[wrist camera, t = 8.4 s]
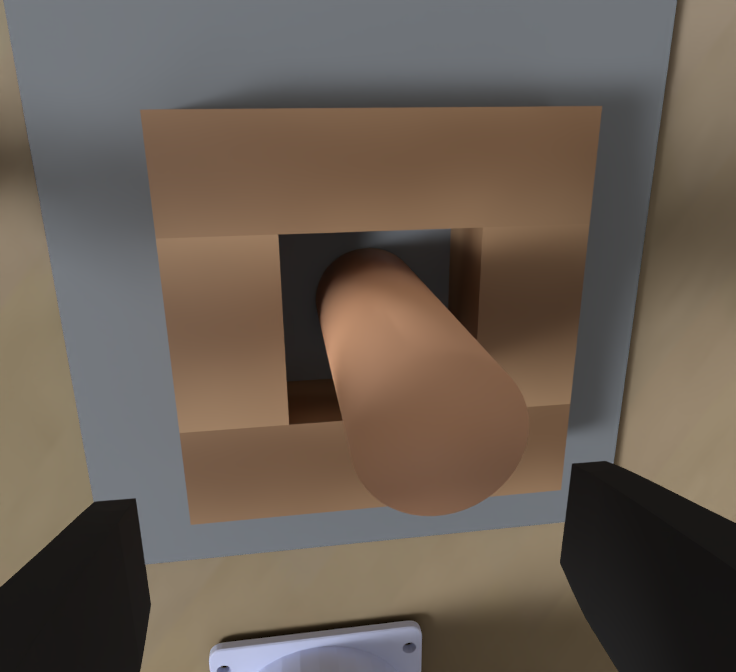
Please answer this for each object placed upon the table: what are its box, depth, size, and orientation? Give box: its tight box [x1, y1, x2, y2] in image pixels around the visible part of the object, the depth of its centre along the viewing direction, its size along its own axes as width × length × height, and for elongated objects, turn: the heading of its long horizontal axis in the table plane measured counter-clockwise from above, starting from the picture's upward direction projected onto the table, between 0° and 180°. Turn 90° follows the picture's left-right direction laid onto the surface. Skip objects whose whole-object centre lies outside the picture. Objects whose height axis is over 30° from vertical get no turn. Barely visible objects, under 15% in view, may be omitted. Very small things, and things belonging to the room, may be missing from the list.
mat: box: [3, 0, 677, 564], centre depth 20 cm, size 18×18×1 cm
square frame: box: [140, 106, 602, 525], centre depth 18 cm, size 11×11×3 cm
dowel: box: [316, 248, 529, 516], centre depth 15 cm, size 3×3×9 cm
